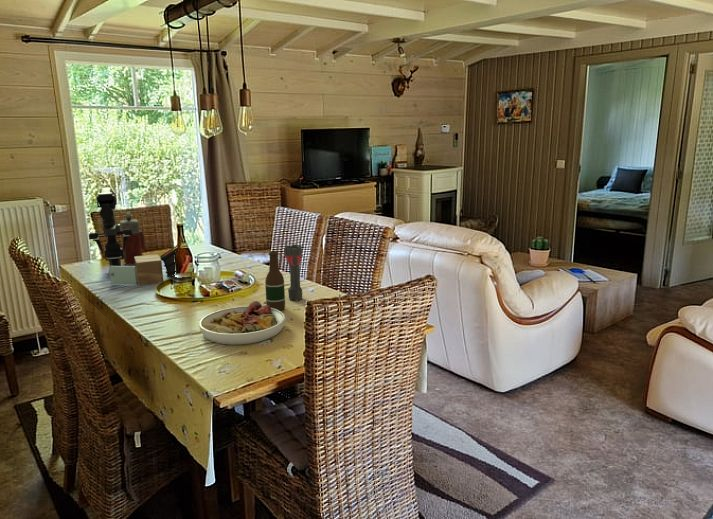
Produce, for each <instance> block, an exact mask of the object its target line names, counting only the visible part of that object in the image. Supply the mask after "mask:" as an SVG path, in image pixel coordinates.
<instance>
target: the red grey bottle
mask: <svg viewBox="0 0 713 519" xmlns="http://www.w3.org/2000/svg"><path fill="white" fill-rule="evenodd" d="M119 224H120V231H123V230H125V229H131V230H132V234H133V235H129V236H130V237H128V238H127V241H126V245H125V251H124V258H125V259H123V262H124V264H125V265H126V264H128V265H135V264H134V263H135V260H134V257H135V256H143V252H142V250H145V249H146V242H145V234H144V233H143V231H142V230H140V222H139V221H138V220H137V219H136V218H135V219H132V214H131V212H130V211H129V212H127V211H126V212H125V219H123V220H119ZM120 236H121V237H120V238H121V246H122V247H123V236H124V235H120Z"/></svg>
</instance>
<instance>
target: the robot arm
mask: <svg viewBox="0 0 713 519" xmlns="http://www.w3.org/2000/svg"><path fill="white" fill-rule="evenodd" d="M99 189H100V191H99V192H98V193H97V195H96V205H97V206H96V208H100V211H99V216H100V217H101V222H102V224H101V225H102V231H103V233H98V232H91V233H90V232H89V234H88V239H89V240H92V242H95V243H96V244H97V246H98V248H99V249H100V251H101V253H102V254H104V258H105V261H106V262H107V261H108V267H109V266H122V262H121V261H122V260H124V259H125V258H124V251H125V245H126V241H127V238H128V237H130V236H129V235H133V234H132V230H131V229H125V230H123V231H121V229H120V223H118V224H117V222H116V218H115V215H116V214H115V209H116V207H117V204H118V200H117V193H116V192H114V191H113V190H112V187H110V186H109V187H100V188H99ZM121 235H124V236H123V246H122V247H121V244H120V243H119V242H118V240H117V236H121ZM106 237H107V242H106V243H105V247H104V248H105V249H103V246H102V242H101V239H100V238H106ZM108 272H109V271H108ZM109 274H110V272H109Z"/></svg>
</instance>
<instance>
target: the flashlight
mask: <svg viewBox="0 0 713 519" xmlns="http://www.w3.org/2000/svg"><path fill="white" fill-rule="evenodd" d="M283 253H284V254H283V255H284V256H285V259H286V262H287V263H288V266H289V276H290V277H289V278H290V279H289V281H290V285H289V288H287V291H288V292H287V293H288V298H289V300H290V301H292V300H293V301H294V302H299V301H300V300H303V288H302V287H301V272H300V265H301V261H302V254H303V246H302V245H300V244H299V245H297V244H292V245H285V246H284V248H283Z"/></svg>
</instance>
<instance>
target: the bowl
mask: <svg viewBox="0 0 713 519" xmlns="http://www.w3.org/2000/svg"><path fill="white" fill-rule="evenodd" d="M285 322H286V315H285V314H284V313H283V311H279V310H277V309H273V308H271V307H270V306H268V305H266V304H265V305H262V303H260V301H257V300H254V301H252V302H250V304H249V305H243V306H235V307H228V308H223V309H219V310H217V311H216V310H215V311H213V312H211V313H208V314H206V315H204V316H203V317H202V318H201V319H200V320H199V324H198V328H199V330H200V333H201V334H202V335H203V337H204V338H206V339H207V340H209V341H210V342H214V343H217V344H221V345H230V346H231V345H233V346H235V345H249V344H250V345H251V344H255V343H260V342H262V341H266V340H269V339H271V338H273V337H274V336H276V335H278V334H279V333H280V332H281V331H282V329H284V327H285Z"/></svg>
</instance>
